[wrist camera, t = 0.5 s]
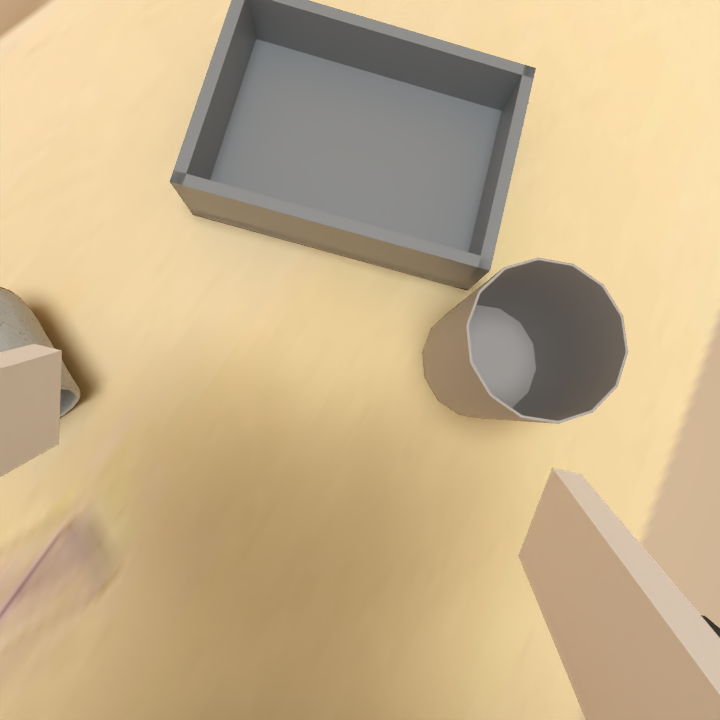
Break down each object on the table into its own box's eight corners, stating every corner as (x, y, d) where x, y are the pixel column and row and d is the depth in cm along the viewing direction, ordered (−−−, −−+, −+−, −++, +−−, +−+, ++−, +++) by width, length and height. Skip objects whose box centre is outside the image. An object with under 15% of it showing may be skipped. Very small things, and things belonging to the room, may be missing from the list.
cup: (553, 348, 31) (656, 320, 22) (496, 440, 30) (577, 456, 20) (460, 284, 32) (520, 227, 22) (400, 374, 30) (434, 357, 20)
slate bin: (467, 290, 31) (489, 270, 27) (193, 214, 31) (169, 181, 26) (508, 113, 33) (535, 68, 29) (251, 38, 33) (238, -21, 28)
